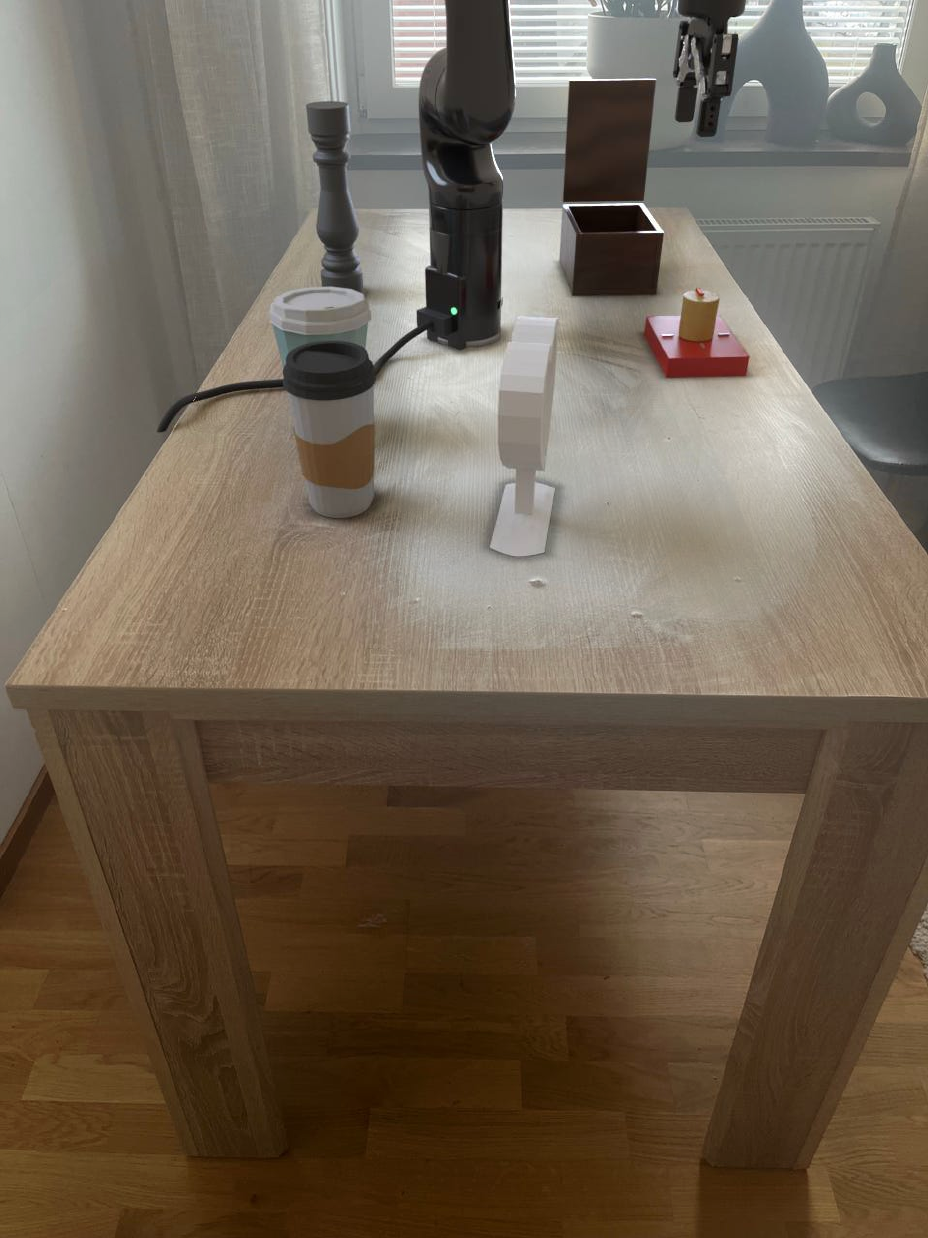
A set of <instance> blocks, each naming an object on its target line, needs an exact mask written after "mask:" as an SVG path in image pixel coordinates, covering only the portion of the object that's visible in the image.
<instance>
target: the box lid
mask: <svg viewBox="0 0 928 1238" xmlns="http://www.w3.org/2000/svg"><path fill="white" fill-rule="evenodd" d="M656 89H657V79H656V78H614V79H611V78H610V79H609V78H608V79H569V80H568V91H567V110H566V112H567V113H566V126H565V127H566V130H565V147H564V150H565V151H564V162H563V182H562V183H563V184H562V185H563V186H562V202H563V203H597V202H599V203H602V202H644V200H645V193H646V184H647V173H648V165H649V164H648V163H649V156H650V155H649V153H650V145H651V144H650V143H651V134H652V127H653V126H652V125H653V116H654V108H655V107H654V106H655V96H656Z"/></svg>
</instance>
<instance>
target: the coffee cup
mask: <svg viewBox="0 0 928 1238" xmlns="http://www.w3.org/2000/svg"><path fill="white" fill-rule="evenodd" d="M282 377H283V378H282V379H283V386H284V387H283V389H284V390H285V391H286V394H287V399H288V404H289V409H290V414H291V419H292V425H293V426H292V430H293V435H294V439H295V444H296V449H297V453H298V457H299V458H298V459H299V463H300V468H301V469H300V470H301V473H302V476H303V478H304V484H305V488H306V494H307V498H308V503H309V504H310V506H311V507H312V509H313V510H314V511H315V512H316V513H317V514H319V515H321V516H323V517H326V518H332V519H344V518H345V519H346V518H351V517H355V516H358V515H361V514H363V513H365V511H367V510H368V509H369V507H370V506H371V504H372V501H374V496H375V468H376V464H375V462H376V461H375V460H376V453H375V452H376V449H375V448H376V445H375V444H376V435H375V434H376V423H375V384H376V380H377V377H376V375H375V374H374V364H373V361H372V360H371V359H370V357H369V353H368V350H367V349H364V348H363V347H362V346H360V345H357V344H354V343H350V342H345V341H318V342H313V343H308V344H305V345H302V346H299V347H297V348H295V349H293V350H292V351H290V352H289V353H288V354H287V357H286V365H285V366H284V368H283V367H282Z"/></svg>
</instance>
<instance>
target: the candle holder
mask: <svg viewBox="0 0 928 1238" xmlns="http://www.w3.org/2000/svg"><path fill="white" fill-rule="evenodd" d="M305 109H306V110H305V111H306V119H307V130H308V134H310V138H311V141H312V142H313V143H314V147H315V148H316V150H315V152H314V153H313V154H312V160H313V162H314V163H315V164H316V166H317V167H318V175H319V186H320V191H319V197H318V208H317V217H316V225H315V229H316V234H317V236H318V238H319V240H320V242H321V243H322V244H323V248H324V249H323V250H325V251H326V252H325V253H324V254H323V257H322V258H321V260H320V263H321V267H322V269H321V270H320V280H321V287H338V288H346V289H352V290H355V291H357V292H360V293H362V294H364V295H365V289H364V288H365V287H364V275H363V268H361V267H360V266H359V265H360V264H361V260H360V257H359V256H358V255H357V253H356V252H355V250H354V248H355V242H356V241H357V239H358V237H359V234H360V224H359V221H358V218H357V214H356V211H355V208H354V205H353V200H352V197H351V194H350V190H349V184H348V183H349V181H348V169H347V166H348V162H350V161H351V158H352V157H351V153H350V152H349V151H348V150H346V146H347V143H348V141H349V139H350V135H349V133H350V132H351V120H350V119H351V118H350V105H349V103H348V102H345V101H338V100H323V101H321V100H320V101H314V102H309V103H307V104H305Z"/></svg>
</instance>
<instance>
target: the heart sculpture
mask: <svg viewBox="0 0 928 1238" xmlns="http://www.w3.org/2000/svg"><path fill="white" fill-rule="evenodd" d="M559 325H560V324H559V318H558V317H538V316H524V315H523V316H521V315H517V317H516V318H515V320H514V322H513V327H512V335H511V341H508V342H507V346H506V348H505V352H504V357H503V362H502V365H501V372H500V379H499V387H498V407H497V444H498V454H499V460H500V462H501V465H502V466H503V467H505V468H506V469H510V470H515V482H512V483H506V484H505V485H504V490H503V494H502V498H501V500H500V501H501V502H500V506H499V509H498V513H497V518H496V521H495V526H494V529H493V533H492V537H491V542H490V545H489V549H492V550H494V551H496V552H498V553H501V554H503V555H506V556H512V557H517V558H518V557H528V556H530V557H531V556H535V555H540V554H544V553H545V551H546V547H547V539H548V533H549V527H550V523H551V522H550V521H551V515H552V509H553V504H554V498H555V492H556V487H552V486H550V485H546V484H545V483H540V482H537V481H536V472H545V471H546V466H547V465H546V464H547V457H548V448H549V439H550V431H551V422H552V413H553V405H554V395H555V394H554V392H555V382H556V373H557V372H556V371H557V358H558V357H557V356H558V343H559V341H558V340H559Z"/></svg>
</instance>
